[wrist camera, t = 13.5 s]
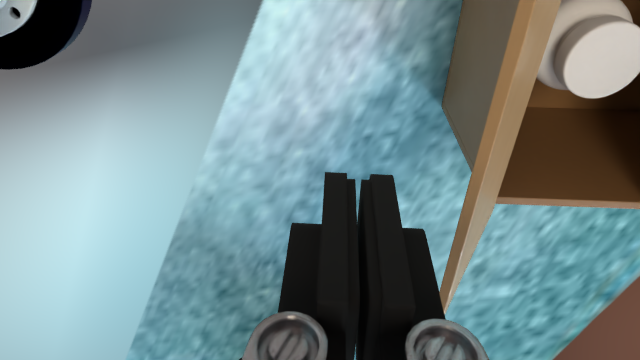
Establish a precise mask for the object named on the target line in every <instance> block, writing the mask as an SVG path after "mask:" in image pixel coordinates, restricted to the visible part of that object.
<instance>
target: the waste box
mask: <svg viewBox="0 0 640 360" xmlns="http://www.w3.org/2000/svg"><path fill="white" fill-rule="evenodd" d="M518 1H519V0H463V3H462V8H461V13H460V18H459V23H458V28H457V33H456V38H455V42H454V47H453V52H452V57H451V62H450V67H449V72H448V77H447V82H446V87H445V92H444V97H443V102H442V109H443V111H444V113H445V115H446V117H447V120H448V122H449V124H450V126H451V128H452V130H453V133H454V135H455V137H456V139H457V141H458V143H459V146H460V148H461V150H462V152H463V154H464V156H465V159H466V161H467V163H468V165H469V167H470V169H471V172H472V170H473V167H474V163H475V159H476V156H477V152H478V148H479V145H480V141H481V137H482V133H483V130H484V126H485V122H486V119H487V115H488V111H489V108H490V104H491V100H492V97H493V93H494V89H495V86H496V82H497V78H498V75H499V71H500V67H501V64H502V60H503V56H504V53H505V49H506V45H507V41H508V38H509V34H510V30H511V27H512V23H513V19H514V16H515V12H516V8H517V5H518ZM620 1H622V2H623V3H624V4H625V6H626V7H627V8H628V10H629V12H630V14H631V17H632V21H633V23H634V24H635V25H637V26H638V27H640V0H620ZM495 204H520V205H546V206H573V207H600V208H626V209H640V72H639V74H638V75H637V76H636V77H635V78H634V79H633V80H632V81H631V82H630V83H629V84H628V85H627V86H625V87H624V88H622V89H621V90H619V91H617V92H615V93H613V94H611V95H608V96H605V97H601V98H583V97H580V96H577V95H575V94H574V93H572V92H571V91H570V90H560V89H555V88H551V87H549V86H547V85H545V84H543V83H542V82H540V81H539V80H538V79H537V78H536V80H535V83H534V86H533V89H532V92H531V95H530V98H529V101H528V104H527V107H526V110H525V113H524V117H523V120H522V123H521V126H520V129H519V132H518V135H517V138H516V141H515V144H514V147H513V150H512V153H511V156H510V160H509V163H508V166H507V169H506V172H505V175H504V178H503V181H502V184H501V187H500V190H499V193H498V196H497V199H496V203H495Z"/></svg>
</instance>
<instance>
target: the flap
mask: <svg viewBox="0 0 640 360" xmlns="http://www.w3.org/2000/svg"><path fill="white" fill-rule="evenodd" d="M560 3H561V0H519V1H518V5H517V8H516V12H515V16H514V19H513V23H512V27H511V30H510V34H509V38H508V41H507V45H506V49H505V53H504V56H503V60H502V64H501V67H500V71H499V75H498V78H497V82H496V86H495V89H494V93H493V97H492V100H491V104H490V108H489V111H488V115H487V119H486V122H485V126H484V130H483V133H482V137H481V141H480V145H479V148H478V152H477V156H476V159H475V163H474V167H473V170H472V174H471V178H470V181H469V185H468V189H467V192H466V196H465V200H464V203H463V207H462V211H461V214H460V218H459V222H458V226H457V229H456V233H455V237H454V240H453V244H452V248H451V251H450V255H449V259H448V262H447V266H446V270H445V273H444V277H443V281H442V284H441V288H440V292H439V294H440V298H441V302H442V307H443V311H444V315H445V313H446V311H447V309H448V307H449V304H450V302H451V300H452V298H453V296H454V294H455V291H456V289H457V287H458V285H459V283H460V281H461V279H462V276H463V274H464V272H465V270H466V268H467V266H468V263H469V261H470V259H471V257H472V255H473V253H474V250H475V248H476V246H477V244H478V242H479V240H480V238H481V235H482V233H483V231H484V229H485V227H486V225H487V222H488V220H489V218H490V216H491V214H492V212H493V209H494V206H495V203H496V199H497V196H498V193H499V190H500V187H501V184H502V181H503V178H504V175H505V172H506V169H507V166H508V163H509V160H510V156H511V153H512V150H513V147H514V144H515V141H516V138H517V135H518V132H519V129H520V126H521V123H522V120H523V117H524V113H525V110H526V107H527V104H528V101H529V98H530V95H531V92H532V89H533V86H534V83H535V80H536V77H537V74H538V70H539V67H540V64H541V61H542V58H543V55H544V52H545V49H546V46H547V43H548V40H549V37H550V34H551V31H552V27H553V24H554V21H555V18H556V15H557V12H558V9H559V6H560Z"/></svg>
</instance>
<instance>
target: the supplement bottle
mask: <svg viewBox="0 0 640 360" xmlns="http://www.w3.org/2000/svg"><path fill="white" fill-rule="evenodd" d="M639 72H640V27H638V26H637V25H635V24H634V23H633V21H632V17H631V14H630V12H629V10H628V8H627V7H626V6H625V4H624V3H623V2H622V1H620V0H561V3H560V6H559V9H558V12H557V15H556V18H555V21H554V24H553V27H552V31H551V34H550V37H549V40H548V43H547V46H546V49H545V52H544V55H543V58H542V61H541V64H540V67H539V70H538V74H537V77H536V78H537V79H538V80H539V81H540V82H542V83H543V84H545V85H547V86H549V87H551V88H555V89H560V90H570V91H571V92H572V93H574V94H575V95H577V96H580V97H583V98H601V97H605V96H608V95H611V94H613V93H615V92H617V91H619V90H621V89H622V88H624V87H625V86H627V85H628V84H629V83H630V82H631V81H632V80H633V79H634V78H635V77H636V76H637V75H638V74H639Z"/></svg>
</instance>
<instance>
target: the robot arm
mask: <svg viewBox="0 0 640 360" xmlns="http://www.w3.org/2000/svg"><path fill="white" fill-rule="evenodd" d="M39 2H40V0H0V37H1V36H4V35H6V34H9V33H11V32H14V31H15V30H17V29H19V28H20V27H22V26H24V25H25V24H26V23H27V22H28V21H29V20H30V18H31V17H32V16H33V15H34V13H35V11H36V9H37V7H38V5H39ZM355 345H356V360H489V358H488V356H487V354H486V352H485V350H484V348H483V346H482V345H481V343H480V342H479V340H478V339H477V338H476V337H475V336H474V335H473V334H472V333H471V332H470V331H469V330H468V329H466V328H464V327H463V326H461V325H459V324H457V323H455V322H452V321H449V320H446V319H445V315H444V311H443V307H442V302H441V298H440V294H439V290H438V285H437V281H436V277H435V272H434V268H433V264H432V260H431V255H430V251H429V247H428V243H427V238H426V235H425V232H424V230H423V229H416V228H402V224H401V218H400V212H399V206H398V201H397V195H396V189H395V183H394V178H393V175H379V174H371V175H370V179H369V180H362V181H361V190H360V200H359V211H358V222H357V212H356V188H355V179H347V173H331V172H325V181H324V198H323V214H322V224H305V223H292V225H291V229H290V236H289V243H288V249H287V256H286V263H285V269H284V276H283V283H282V289H281V296H280V303H279V309H278V313H276V314H274V315H272V316H270V317H268V318H266V319H264V320H263V321H262V322H261V323H260V324H259V325H258V326H257V327H256V328H255V330H254V331H253V333H252V335H251V337H250V339H249V342H248V344H247V347H246V350H245V352H244V355H243V357H242V358H241V359H239V360H354V354H355Z"/></svg>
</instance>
